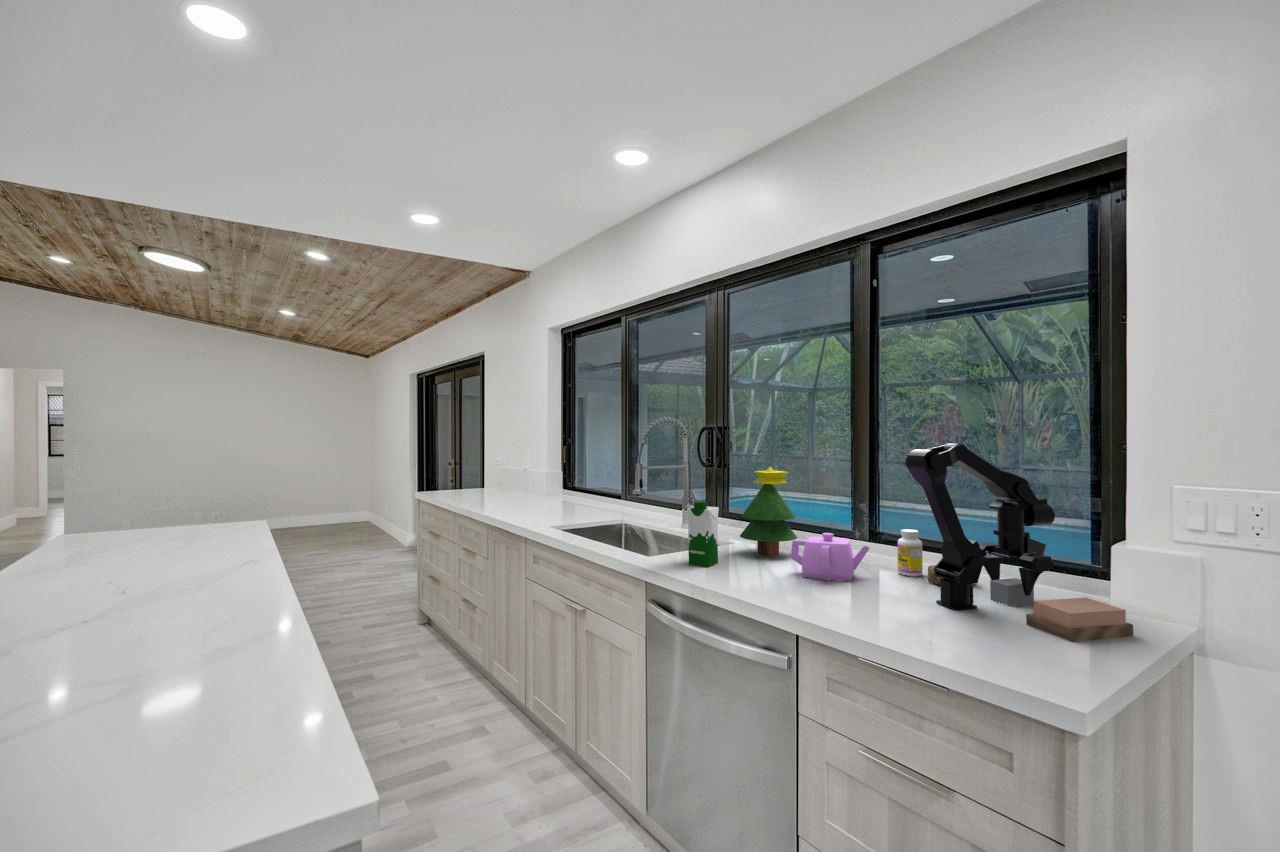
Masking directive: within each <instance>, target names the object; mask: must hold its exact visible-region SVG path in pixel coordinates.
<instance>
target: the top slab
mask: <svg viewBox="0 0 1280 852" xmlns="http://www.w3.org/2000/svg"><path fill="white" fill-rule="evenodd" d="M1126 612H1127V611H1126V609H1123V608H1122V607H1118V606H1115V605H1111V604H1108V603H1105V602H1102V601H1098V600H1095V599H1092V598H1089V597H1075V598H1074V597H1073V598H1072V597H1071V598H1059V599H1057V598H1056V599H1055V598H1054V599H1041V600H1034V603H1033V613H1034V615H1036V616H1039V617H1041V618H1044V619H1047V620H1049V621H1052V622H1055V623H1057V624H1060V625H1063V626H1065V627H1068V628H1082V627H1097V626H1111V625H1125V624H1126V622H1127V621H1126V620H1127V619H1126V618H1127V617H1126V614H1127V613H1126Z"/></svg>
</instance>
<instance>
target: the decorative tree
mask: <svg viewBox="0 0 1280 852" xmlns="http://www.w3.org/2000/svg"><path fill="white" fill-rule="evenodd" d="M753 473H754V474H755V475H756V476H757V478H756V479H754V481H753V483H757V484H763V485H762V486H761V487H760V489H759V491H758V492H757V493H756V495H755V496H754V497H753V499H752V501H751V502H750V503H749V505H748V506H747V508H746V509H745V511H744V512H743V513H742V515H741V517H742V518H744V519H746V520H747V519H748V520H751V521H750V522H749V523H748V524H747V526H746V527H745V528H744V529H743V530H742V532H741V533H740V534H739V537H740V538H741V539H744V540H749V541H755V542H756V541H757V556H761V557H766V558H767V557H768V558H769V557H770V558H771V557H779V556H780V542H789V541H790V542H791V541H793V540H798V536H797V535H796V533H795V532H794V531H793V530H792V529H791V527H790V525H788V523H787V522H786V521H789V520H795V519H796V516H795V514H794V512H793V511H792V509H791V508H790V507H789V506H788V504H787V503H786V501H785V500H784V498H783V497H782V496H781V494H780V493H779V492H778V490H777V488H776V487H775V485H776V484H788V482H787V481H786V480H785V479H784V477H786V476H787V475H788V474H789V473H790V472H789V471H781V470H775V469H774V468H773V467H772V466H769V467H768V468H767V469H766V470H755V471H753Z"/></svg>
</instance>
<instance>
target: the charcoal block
mask: <svg viewBox="0 0 1280 852" xmlns="http://www.w3.org/2000/svg"><path fill="white" fill-rule="evenodd" d="M989 583H990V586H989V590H990V594H989V597H990V601H992V600H993V601H992V602H995V601H996V602H995V603H998V602H1000V603H999V604H1001V603H1003V604H1002V605H1004V604H1007V605H1009V606H1012V605H1011V604H1018V605H1023V604H1022V603H1028V604H1033V603H1032V602H1034V601H1035V595H1034V594H1035V591H1034V590H1035V589H1034V588H1035V586H1034V587H1033V589H1032V592H1031V594H1030V596H1026V595H1025V593H1024V590H1023V586H1022V581H1021V578H1017V577H1013V578H1011V577H1010V578H1002V579H1001V578H1000V580H991V579H990V582H989ZM1007 605H1006V606H1007Z"/></svg>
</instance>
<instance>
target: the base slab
mask: <svg viewBox="0 0 1280 852" xmlns="http://www.w3.org/2000/svg"><path fill="white" fill-rule="evenodd" d="M1025 618H1026V619H1025V623H1026V626H1029V627H1032V628H1034V629H1037V630H1040V631H1042V632H1045V633H1047V634H1050V635H1052V636H1056V637H1058V638H1060V639H1063V640H1066V641H1068V642H1072V643H1078V642H1079V643H1080V642H1089V641H1099V640H1100V639H1101V640H1109V639H1108V638H1111V639H1119V638H1118V637H1121V638H1127V637H1128V638H1130V637H1129V636H1131V637H1134V624H1133V623H1130V622H1127V621H1126V624H1125V625H1111V626H1097V627H1082V628H1068V627H1065V626H1063V625H1060V624H1057V623H1055V622H1052V621H1049V620H1047V619H1044V618H1041V617H1039V616H1036V615H1034V612H1033V613H1026V614H1025ZM1098 639H1099V640H1098Z"/></svg>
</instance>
